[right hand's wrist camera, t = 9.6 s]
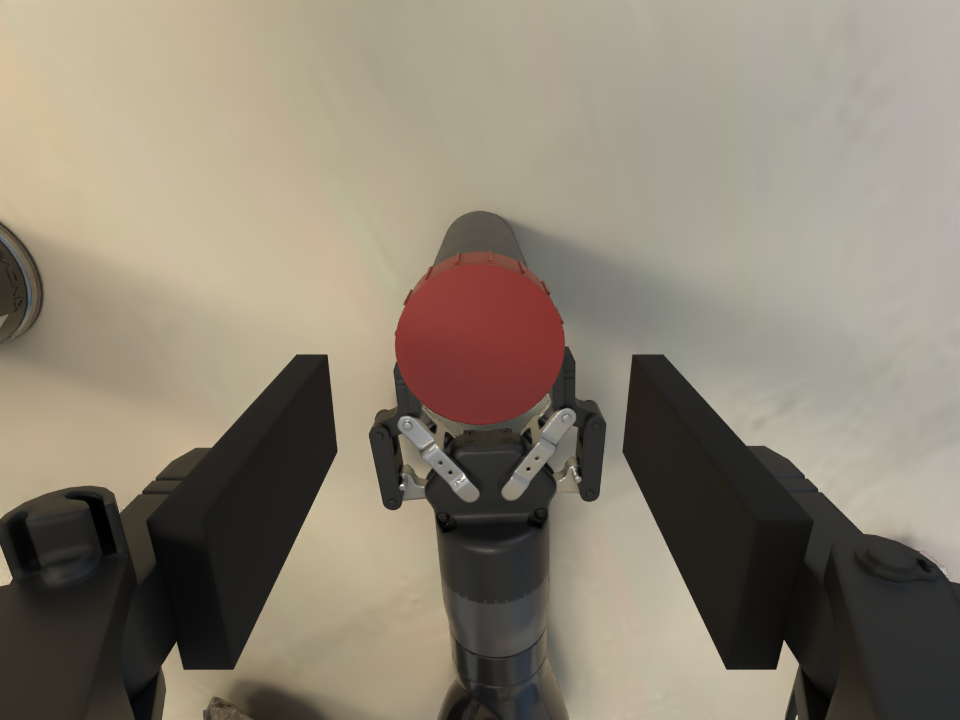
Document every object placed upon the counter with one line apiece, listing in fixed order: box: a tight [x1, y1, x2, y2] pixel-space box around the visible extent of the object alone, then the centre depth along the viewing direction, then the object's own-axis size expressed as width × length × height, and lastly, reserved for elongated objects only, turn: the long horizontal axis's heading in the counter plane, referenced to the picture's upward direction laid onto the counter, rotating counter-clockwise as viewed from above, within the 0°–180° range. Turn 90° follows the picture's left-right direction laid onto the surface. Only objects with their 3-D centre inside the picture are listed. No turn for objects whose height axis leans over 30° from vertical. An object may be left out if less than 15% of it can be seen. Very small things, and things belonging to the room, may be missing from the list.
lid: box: [395, 250, 565, 425], centre depth 19 cm, size 6×6×2 cm
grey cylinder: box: [432, 211, 528, 268], centre depth 27 cm, size 5×5×20 cm
